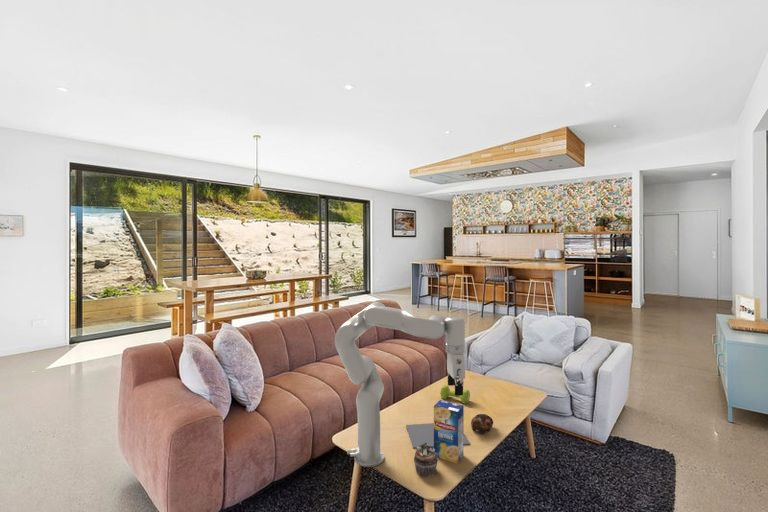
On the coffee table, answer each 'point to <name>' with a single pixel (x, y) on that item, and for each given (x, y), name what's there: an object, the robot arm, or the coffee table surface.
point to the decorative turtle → (482, 423)
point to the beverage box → (448, 430)
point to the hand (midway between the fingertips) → (455, 390)
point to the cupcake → (425, 460)
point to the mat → (425, 435)
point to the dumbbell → (447, 392)
